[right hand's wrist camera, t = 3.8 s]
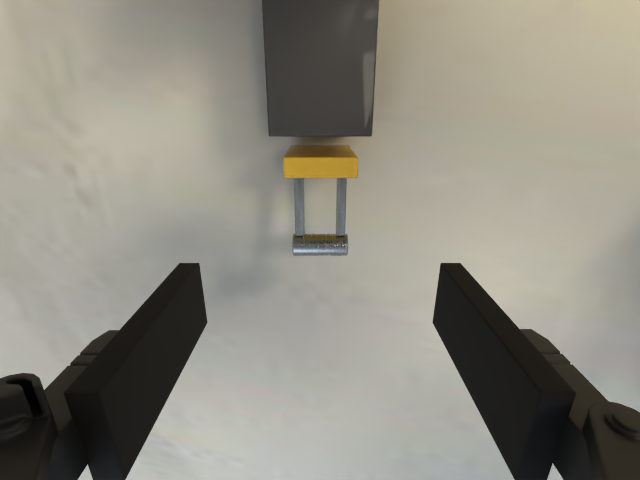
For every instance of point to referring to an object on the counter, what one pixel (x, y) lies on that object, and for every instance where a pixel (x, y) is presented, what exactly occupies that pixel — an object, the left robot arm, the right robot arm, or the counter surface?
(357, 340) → the counter surface
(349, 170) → the drawer
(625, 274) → the counter surface
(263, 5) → the dark grey box
